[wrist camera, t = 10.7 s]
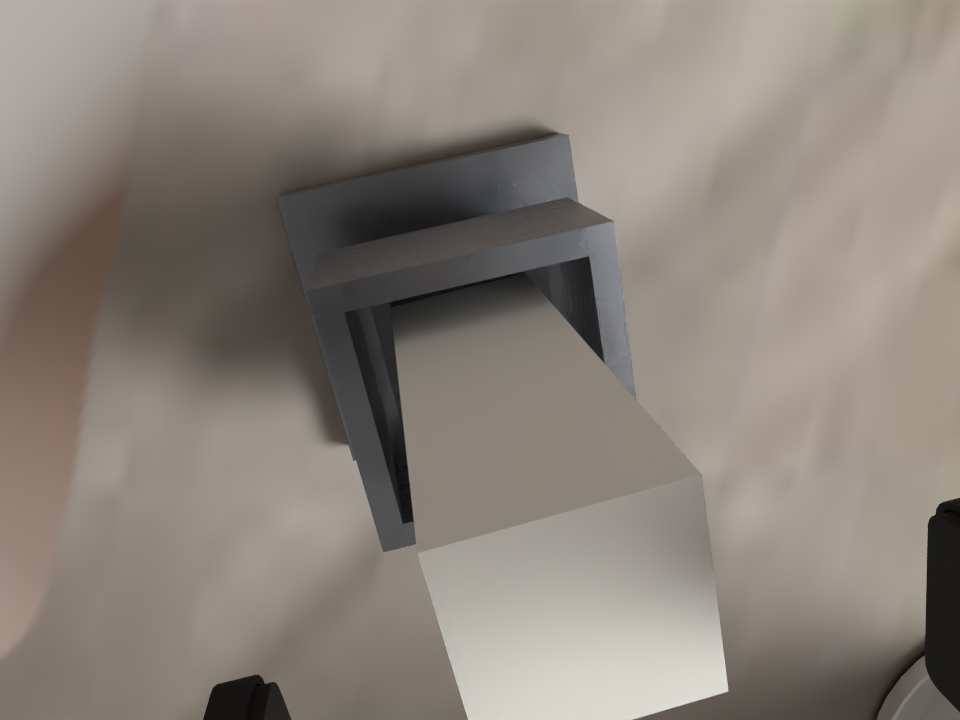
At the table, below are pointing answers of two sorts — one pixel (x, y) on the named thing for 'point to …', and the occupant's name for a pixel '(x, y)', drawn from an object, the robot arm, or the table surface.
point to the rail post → (550, 516)
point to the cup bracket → (442, 279)
